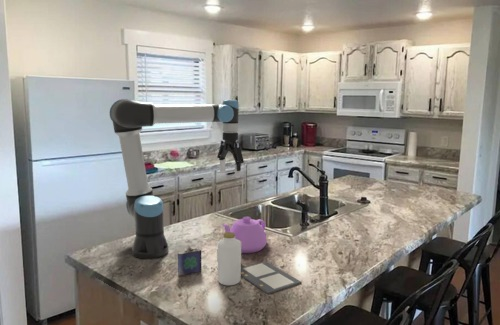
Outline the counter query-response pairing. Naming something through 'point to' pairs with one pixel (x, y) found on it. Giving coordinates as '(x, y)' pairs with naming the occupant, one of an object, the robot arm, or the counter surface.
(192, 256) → the flask
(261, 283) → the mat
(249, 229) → the teapot
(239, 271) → the white bottle
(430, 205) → the counter surface
